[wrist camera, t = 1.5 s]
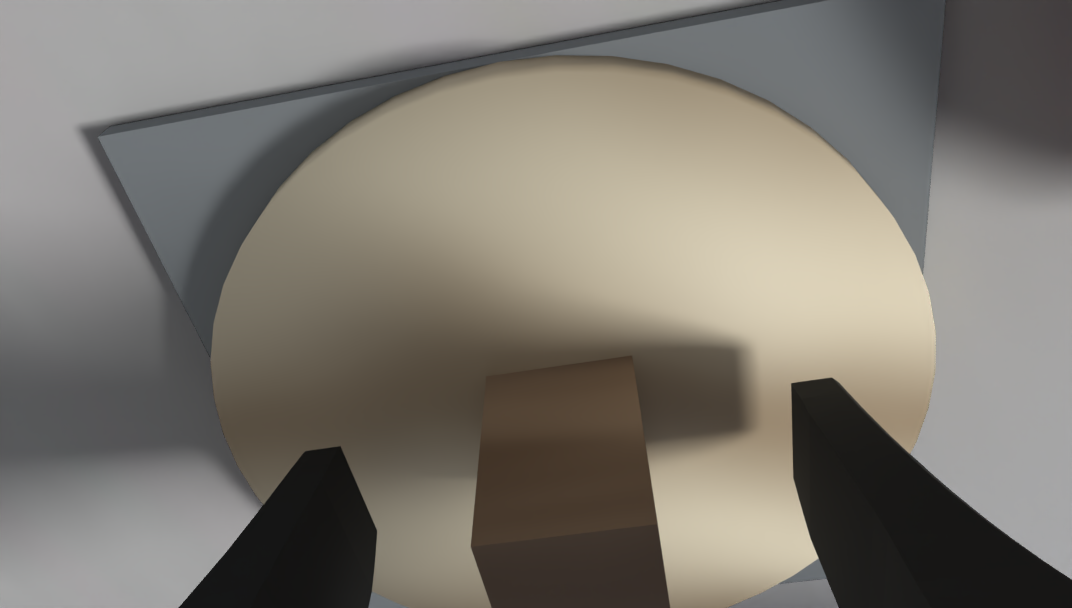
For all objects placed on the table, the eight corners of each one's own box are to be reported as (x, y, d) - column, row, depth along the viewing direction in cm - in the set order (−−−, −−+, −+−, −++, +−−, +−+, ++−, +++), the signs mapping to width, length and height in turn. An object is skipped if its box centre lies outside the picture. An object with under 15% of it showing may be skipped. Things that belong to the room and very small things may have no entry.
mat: (891, 554, 18) (898, 570, 17) (353, 616, 19) (350, 632, 19) (935, -29, 11) (947, -22, 11) (109, 126, 12) (97, 136, 12)
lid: (897, 569, 17) (990, 781, 14) (349, 630, 19) (303, 839, 15) (946, -23, 11) (1149, 86, 7) (99, 135, 12) (-90, 294, 8)
